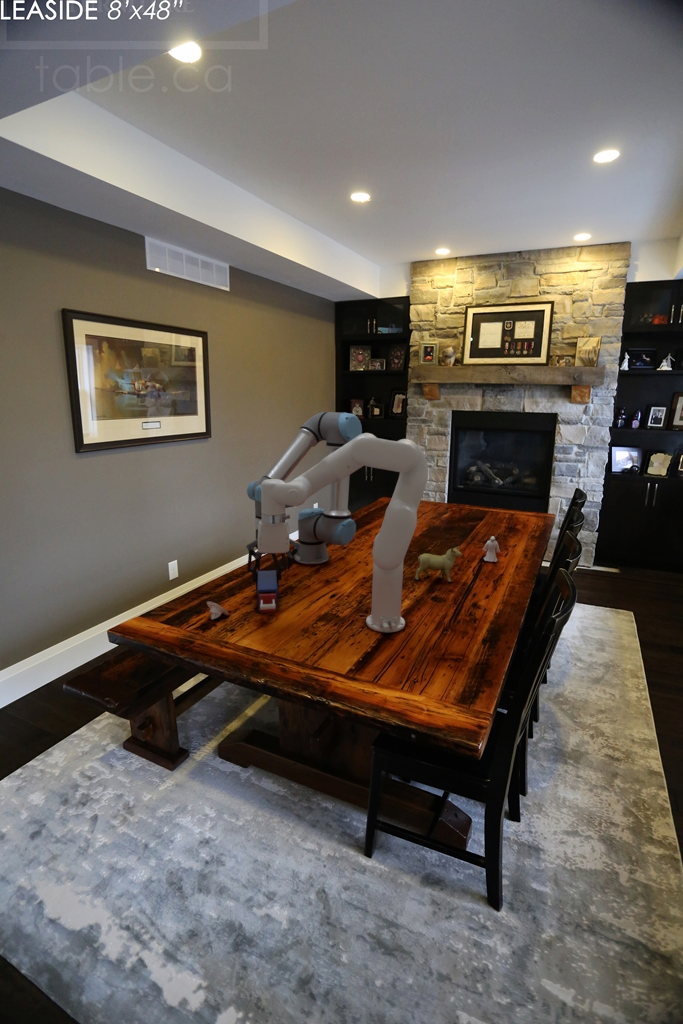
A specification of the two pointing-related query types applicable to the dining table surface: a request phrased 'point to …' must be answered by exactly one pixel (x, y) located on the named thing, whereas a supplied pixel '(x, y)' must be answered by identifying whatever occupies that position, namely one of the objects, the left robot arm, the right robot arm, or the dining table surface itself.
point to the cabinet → (267, 584)
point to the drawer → (267, 602)
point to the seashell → (216, 610)
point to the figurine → (491, 550)
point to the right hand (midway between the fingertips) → (273, 568)
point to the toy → (438, 563)
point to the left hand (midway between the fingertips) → (267, 588)
